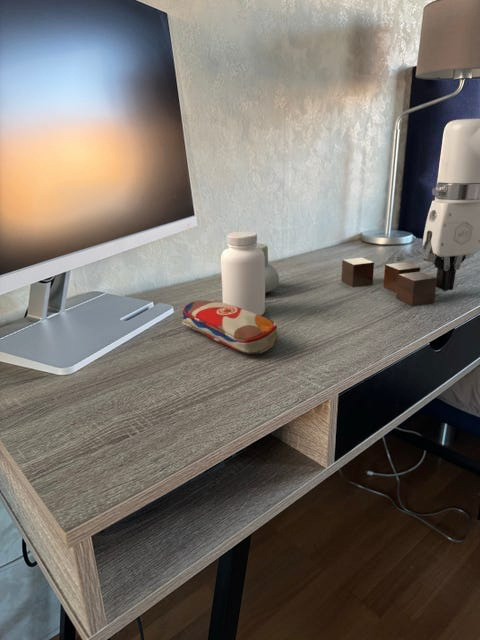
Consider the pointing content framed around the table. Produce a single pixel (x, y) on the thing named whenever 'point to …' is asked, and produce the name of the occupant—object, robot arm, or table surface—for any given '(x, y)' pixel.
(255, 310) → the pill bottle
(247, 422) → the table surface
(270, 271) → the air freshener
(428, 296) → the block
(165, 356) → the table surface
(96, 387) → the table surface
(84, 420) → the table surface
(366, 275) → the block
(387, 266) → the block middle
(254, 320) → the pencil case
